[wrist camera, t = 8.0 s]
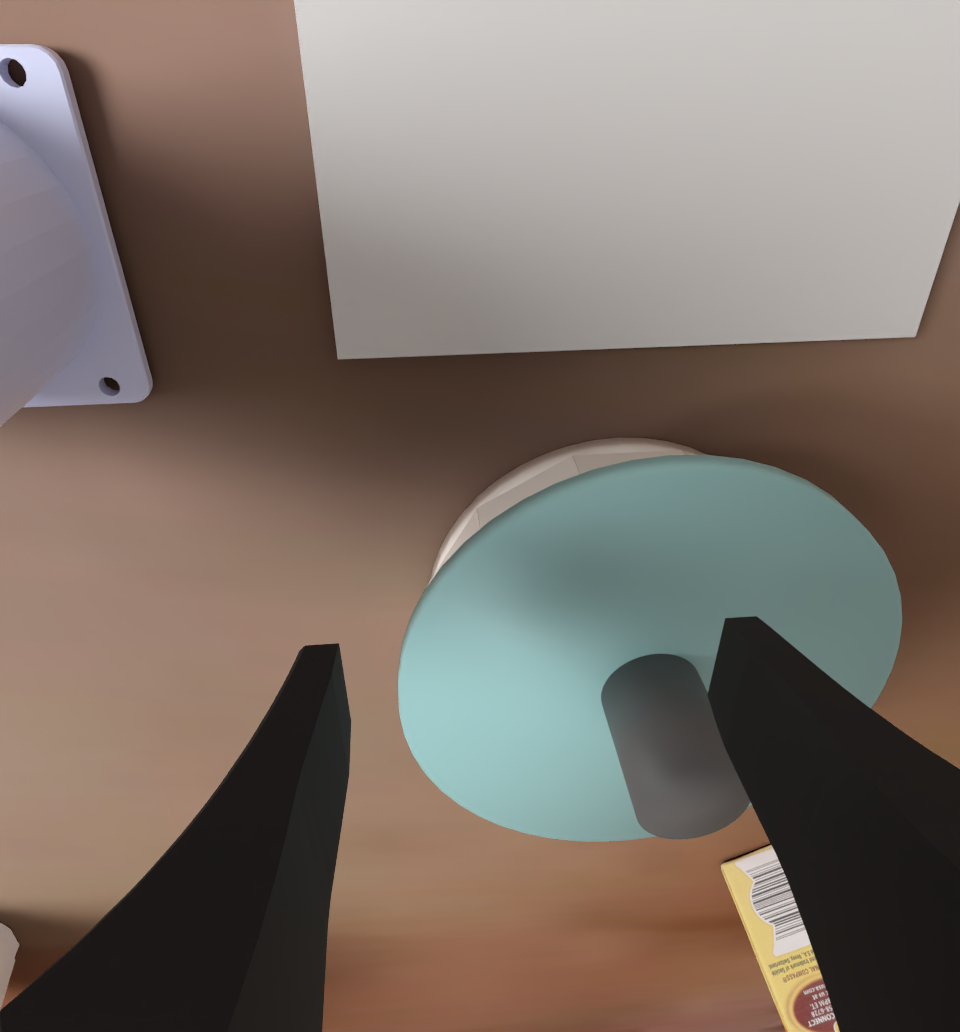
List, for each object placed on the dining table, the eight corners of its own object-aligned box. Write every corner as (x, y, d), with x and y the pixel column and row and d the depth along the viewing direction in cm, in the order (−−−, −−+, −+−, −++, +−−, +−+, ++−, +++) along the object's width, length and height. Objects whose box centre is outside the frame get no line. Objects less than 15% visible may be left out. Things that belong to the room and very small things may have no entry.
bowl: (436, 724, 28) (441, 829, 24) (419, 446, 21) (422, 531, 17) (737, 702, 28) (788, 800, 25) (810, 428, 22) (894, 504, 18)
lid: (390, 823, 23) (387, 966, 20) (410, 439, 16) (411, 553, 12) (790, 816, 25) (855, 947, 21) (974, 468, 18) (1124, 575, 14)
